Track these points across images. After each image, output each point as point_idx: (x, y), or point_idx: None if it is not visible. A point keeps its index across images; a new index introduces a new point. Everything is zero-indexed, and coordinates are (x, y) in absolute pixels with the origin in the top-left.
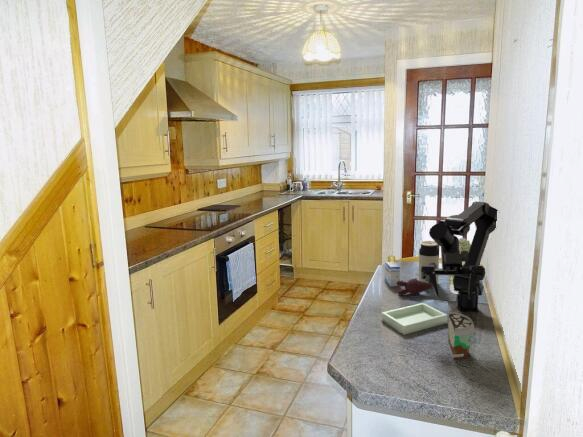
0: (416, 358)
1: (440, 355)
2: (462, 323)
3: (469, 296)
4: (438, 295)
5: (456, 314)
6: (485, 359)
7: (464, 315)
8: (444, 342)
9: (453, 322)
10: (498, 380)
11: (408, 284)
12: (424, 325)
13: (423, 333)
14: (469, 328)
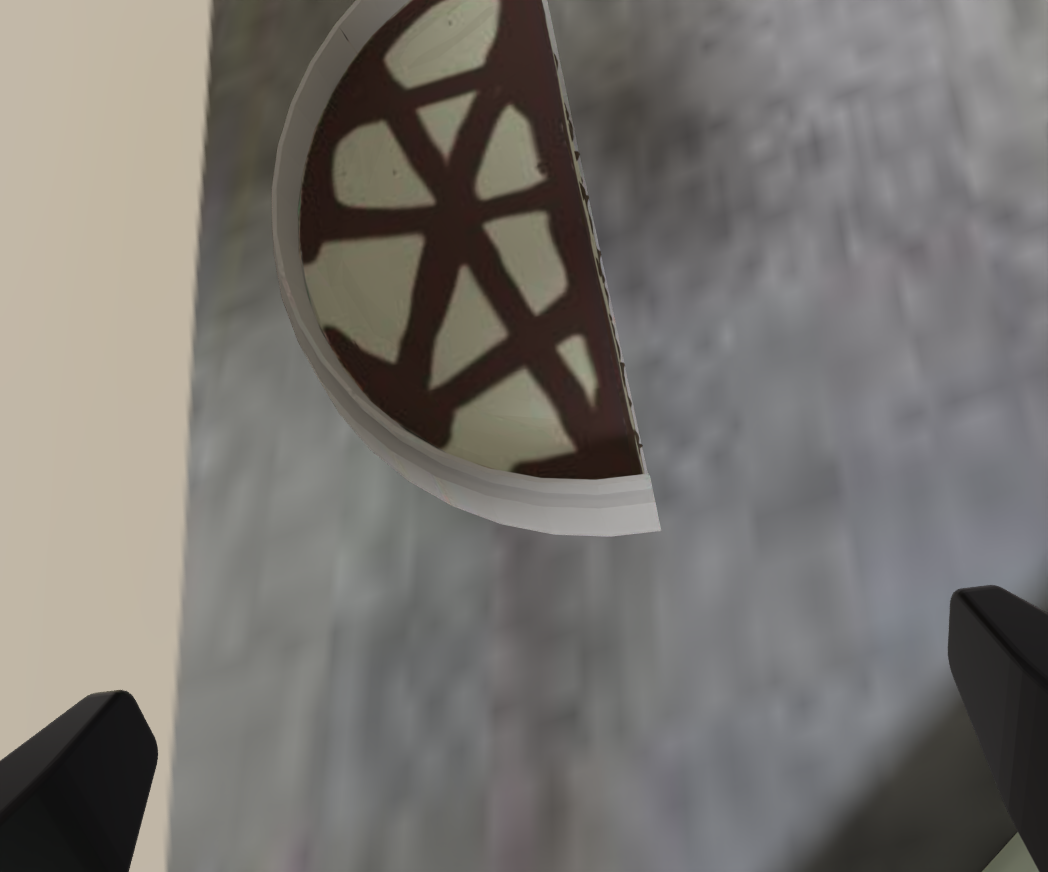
0: (939, 90)
1: (713, 231)
2: (427, 197)
3: (100, 708)
4: (979, 611)
5: (511, 471)
6: None
7: (375, 410)
8: (698, 530)
9: (556, 141)
10: (257, 30)
11: None
12: (1025, 861)
13: None
14: (339, 51)
